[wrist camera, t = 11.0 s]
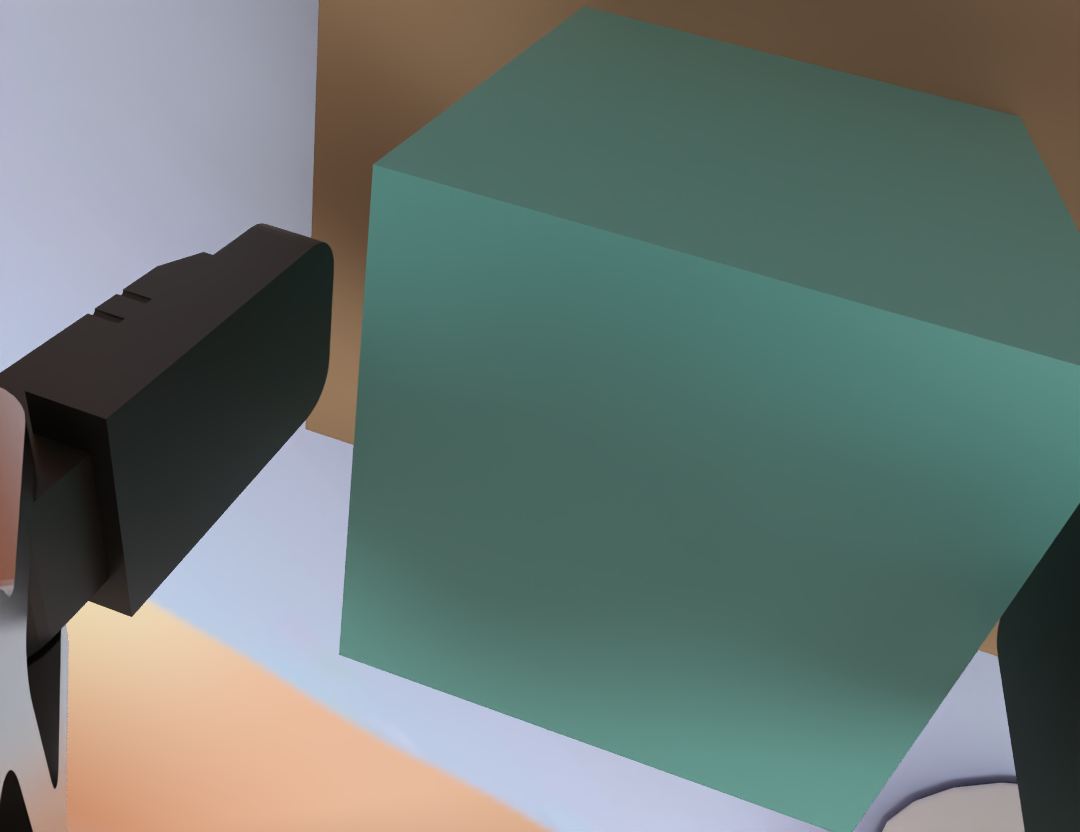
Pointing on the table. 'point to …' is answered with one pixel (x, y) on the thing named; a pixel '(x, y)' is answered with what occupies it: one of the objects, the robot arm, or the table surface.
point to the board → (679, 3)
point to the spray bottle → (963, 811)
